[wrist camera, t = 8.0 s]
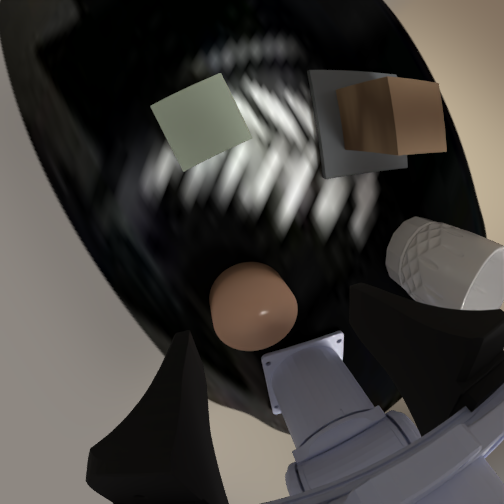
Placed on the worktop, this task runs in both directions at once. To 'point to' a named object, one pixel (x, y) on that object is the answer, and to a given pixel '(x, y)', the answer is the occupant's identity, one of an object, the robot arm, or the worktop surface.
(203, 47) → the worktop surface
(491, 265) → the white cup
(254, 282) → the brown rounded disc
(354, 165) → the plate
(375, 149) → the walnut block
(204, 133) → the sage cube
